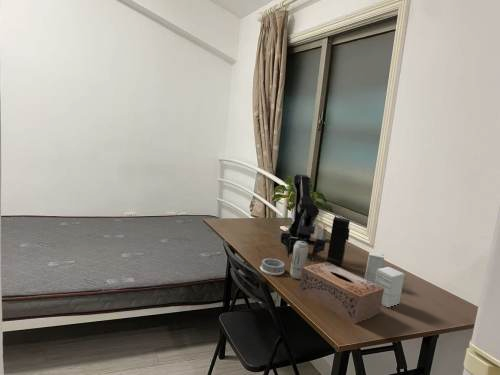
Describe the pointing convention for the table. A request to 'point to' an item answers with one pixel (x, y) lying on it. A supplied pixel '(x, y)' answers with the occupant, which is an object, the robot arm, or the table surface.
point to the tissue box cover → (341, 291)
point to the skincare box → (373, 266)
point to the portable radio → (338, 241)
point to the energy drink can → (299, 259)
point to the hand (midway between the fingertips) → (299, 259)
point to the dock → (272, 266)
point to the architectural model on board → (319, 232)
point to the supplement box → (390, 285)
